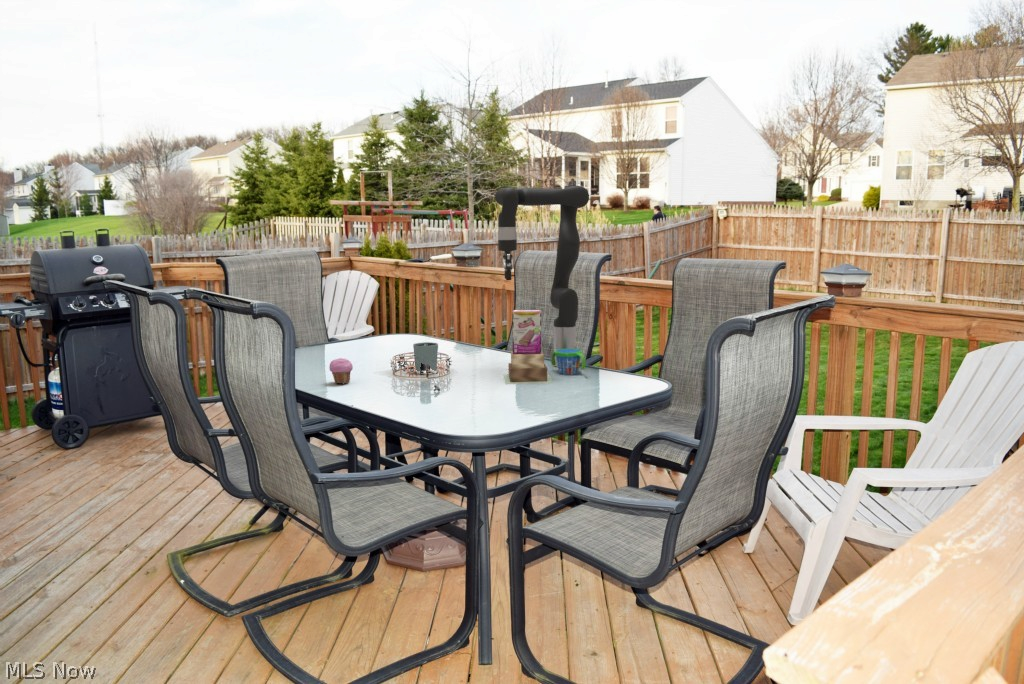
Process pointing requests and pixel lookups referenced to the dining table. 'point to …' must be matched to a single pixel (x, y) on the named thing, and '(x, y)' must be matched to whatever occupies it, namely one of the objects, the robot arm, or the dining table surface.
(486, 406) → the dining table surface
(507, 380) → the sage mat
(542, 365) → the maple block
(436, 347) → the grey green cup
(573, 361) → the snack cup
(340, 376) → the cupcake
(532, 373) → the walnut block
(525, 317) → the candy bar box
